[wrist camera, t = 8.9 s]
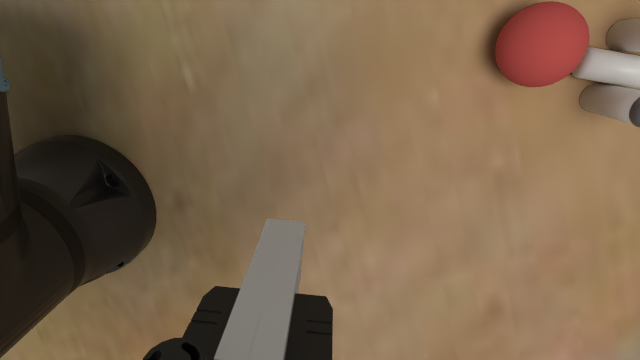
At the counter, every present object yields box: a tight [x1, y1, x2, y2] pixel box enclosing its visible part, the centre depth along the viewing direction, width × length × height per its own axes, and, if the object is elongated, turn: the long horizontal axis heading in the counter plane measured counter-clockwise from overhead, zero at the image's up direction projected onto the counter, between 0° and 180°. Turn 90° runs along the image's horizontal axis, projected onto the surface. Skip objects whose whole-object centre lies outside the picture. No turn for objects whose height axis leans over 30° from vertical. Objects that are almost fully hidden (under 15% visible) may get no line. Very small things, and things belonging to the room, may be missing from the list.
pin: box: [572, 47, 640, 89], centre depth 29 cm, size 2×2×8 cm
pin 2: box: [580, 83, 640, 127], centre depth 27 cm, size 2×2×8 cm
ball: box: [495, 2, 589, 87], centre depth 27 cm, size 6×6×6 cm
